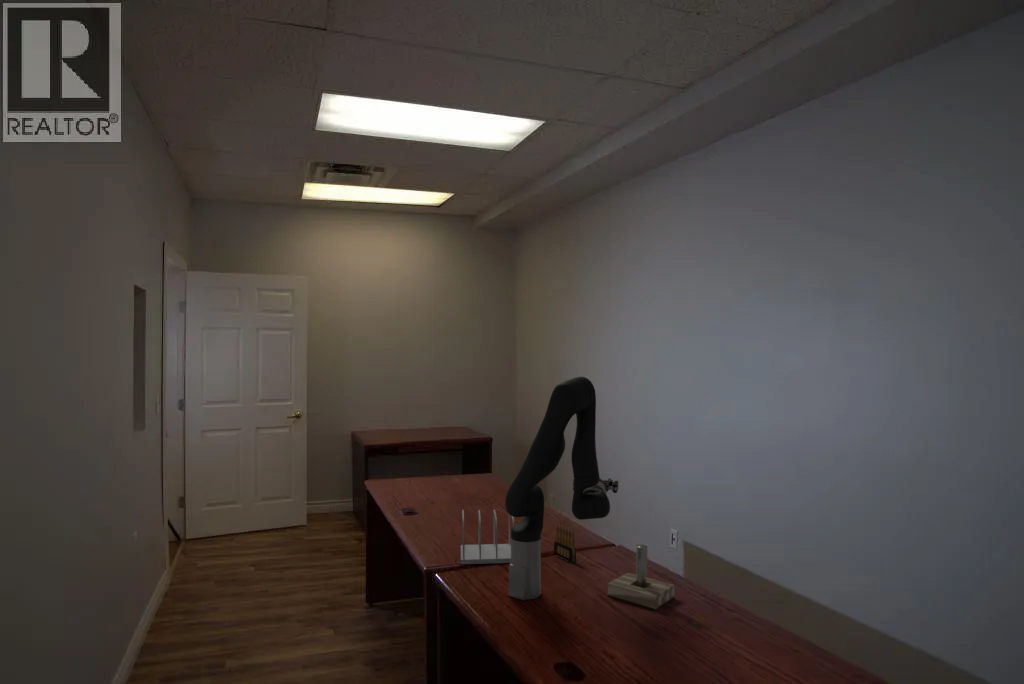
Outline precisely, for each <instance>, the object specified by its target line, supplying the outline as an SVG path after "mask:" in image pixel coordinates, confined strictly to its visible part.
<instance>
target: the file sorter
mask: <svg viewBox="0 0 1024 684" xmlns="http://www.w3.org/2000/svg"><path fill="white" fill-rule="evenodd" d="M492 512H493V517H492V518H493V519H492V520H493V521H492V522H493V523H492V525H493V526H492V527H493V531H492V532H493V543H490V544H488V543H486V544H482V525H481V524H482V521H481V520H482V518H481V510H480V509H478V511H477V523H478V524H477V525H478V527H477V531H478V533H477V539H478V540H477V544H465V510H464V509H462V510H461V517H462V520H461V526H462V529H461V530H462V535H461V536H462V544H460V565H480V564H481V565H483V564H485V565H487V564H511V520H512V528H513V527H514V526H515V517H513V516H511V515H509V514H508V513H507V515H508V516H507V517H508V518H507V519H508V522H507V523H508V543H498V518H497V512H496V509H493V511H492ZM524 517H525V516H524ZM524 517H523V518H524Z"/></svg>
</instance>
